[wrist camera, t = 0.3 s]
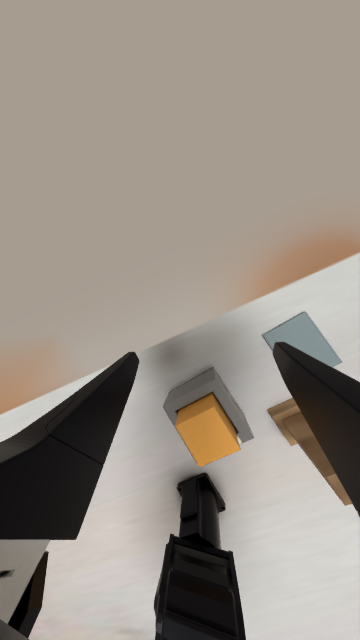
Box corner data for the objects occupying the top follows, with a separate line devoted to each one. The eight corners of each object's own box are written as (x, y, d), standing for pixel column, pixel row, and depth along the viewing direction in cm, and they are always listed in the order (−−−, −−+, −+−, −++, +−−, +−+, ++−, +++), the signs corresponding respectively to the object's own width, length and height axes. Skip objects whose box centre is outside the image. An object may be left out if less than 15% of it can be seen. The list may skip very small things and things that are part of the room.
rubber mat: (339, 361, 19) (342, 362, 19) (294, 382, 20) (296, 384, 20) (303, 311, 20) (305, 311, 19) (261, 335, 21) (263, 335, 20)
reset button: (233, 426, 19) (240, 449, 16) (199, 441, 20) (199, 467, 17) (211, 391, 19) (213, 406, 16) (179, 408, 20) (175, 426, 17)
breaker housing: (244, 415, 22) (254, 439, 17) (197, 437, 23) (196, 464, 19) (213, 367, 22) (216, 378, 18) (169, 391, 24) (162, 407, 20)
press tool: (314, 424, 20) (397, 502, 12) (284, 436, 21) (340, 518, 12) (295, 396, 20) (362, 452, 12) (266, 409, 21) (309, 471, 13)
